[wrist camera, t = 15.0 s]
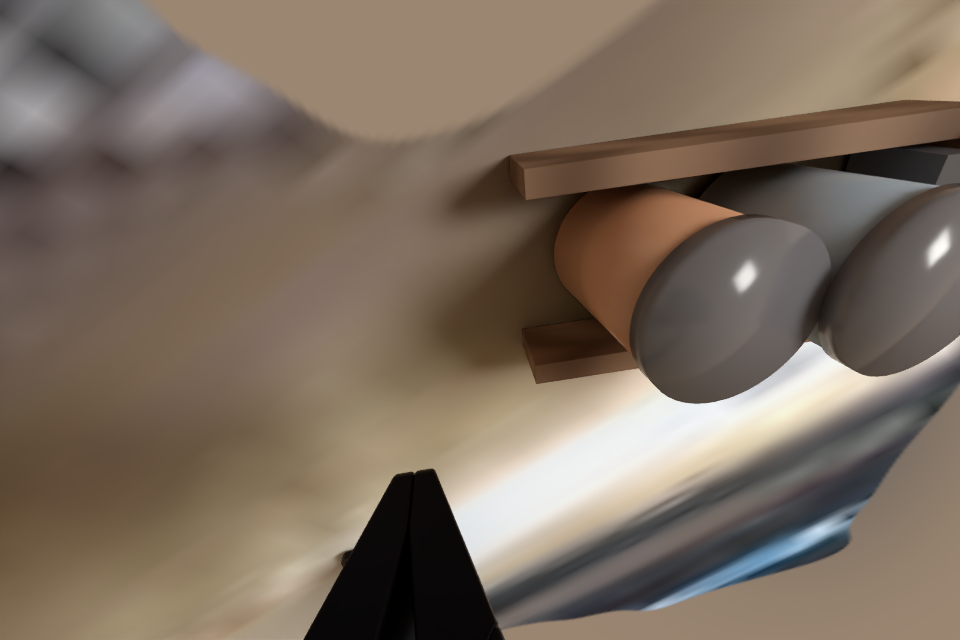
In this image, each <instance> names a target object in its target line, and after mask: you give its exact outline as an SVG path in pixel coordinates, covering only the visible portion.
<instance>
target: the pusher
mask: <svg viewBox="0 0 960 640" xmlns="http://www.w3.org/2000/svg"><path fill="white" fill-rule="evenodd" d="M845 172H850V173H856V174H863V175H870V176H877V177H884V178H890V179H897V180H904V181H911V182H918V183H924V184H931V185H938V186H942V185H945V184H952V183H960V149H955V148H947V147H939V146H931V145H922V144H915V145H908V146H901V147H894V148H887V149H880V150H873V151H866V152H859V153H852V154H851V155H850V158H849V161H848V164H847V167H846V170H845Z"/></svg>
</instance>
